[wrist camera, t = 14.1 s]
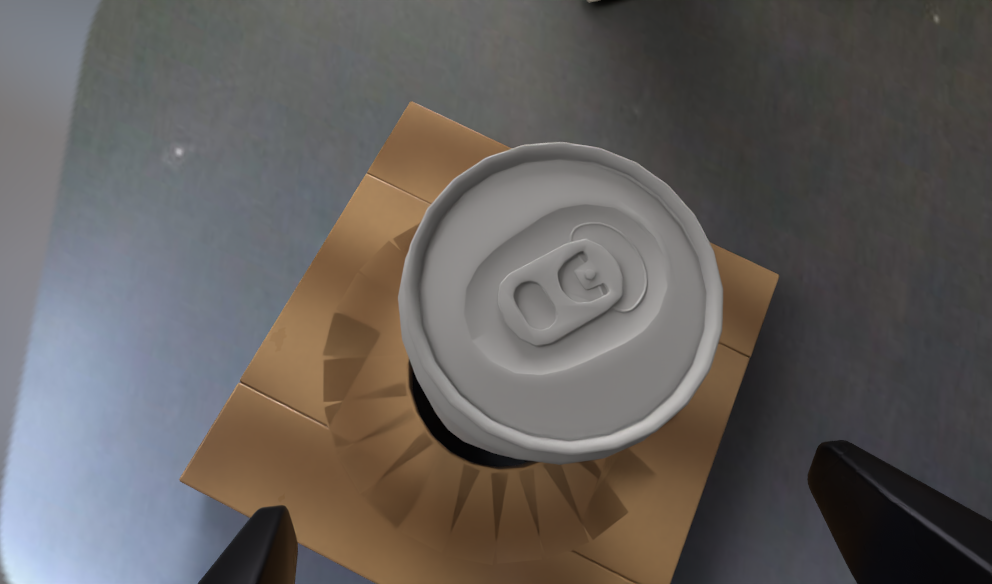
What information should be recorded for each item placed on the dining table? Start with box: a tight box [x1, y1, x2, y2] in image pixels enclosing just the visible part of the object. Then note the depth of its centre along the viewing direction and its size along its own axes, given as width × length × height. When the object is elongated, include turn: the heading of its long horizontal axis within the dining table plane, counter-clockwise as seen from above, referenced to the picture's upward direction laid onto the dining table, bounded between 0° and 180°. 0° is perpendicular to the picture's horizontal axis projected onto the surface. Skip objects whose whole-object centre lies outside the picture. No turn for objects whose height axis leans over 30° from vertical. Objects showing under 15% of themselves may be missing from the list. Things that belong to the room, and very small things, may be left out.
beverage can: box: [398, 142, 723, 465], centre depth 14 cm, size 5×5×12 cm
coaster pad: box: [179, 102, 779, 584], centre depth 19 cm, size 14×14×2 cm
